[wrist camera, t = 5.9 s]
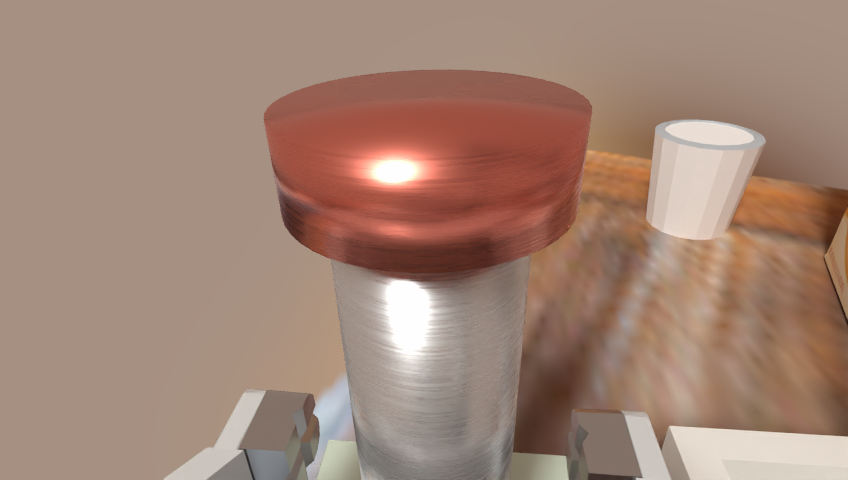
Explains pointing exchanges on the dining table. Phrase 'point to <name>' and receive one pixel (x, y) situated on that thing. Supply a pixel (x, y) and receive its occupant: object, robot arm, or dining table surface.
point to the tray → (753, 455)
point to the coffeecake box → (840, 261)
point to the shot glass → (699, 176)
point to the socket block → (530, 476)
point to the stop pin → (430, 247)
